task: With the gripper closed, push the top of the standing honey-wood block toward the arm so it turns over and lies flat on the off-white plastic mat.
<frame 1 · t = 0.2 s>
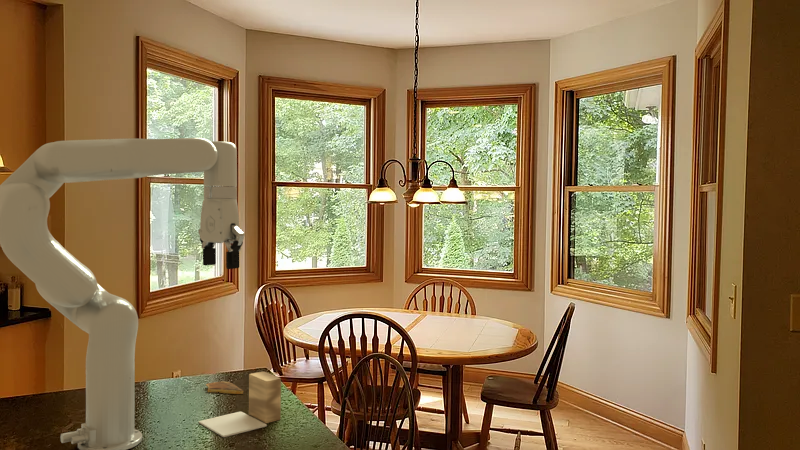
hand: (220, 266, 155), 36 cm above the counter, tool pointing down, fingers open, 9 cm apart
wood block: (264, 416, 158), on the counter
plastic mat: (232, 424, 153), on the counter
shard: (227, 391, 180), on the counter
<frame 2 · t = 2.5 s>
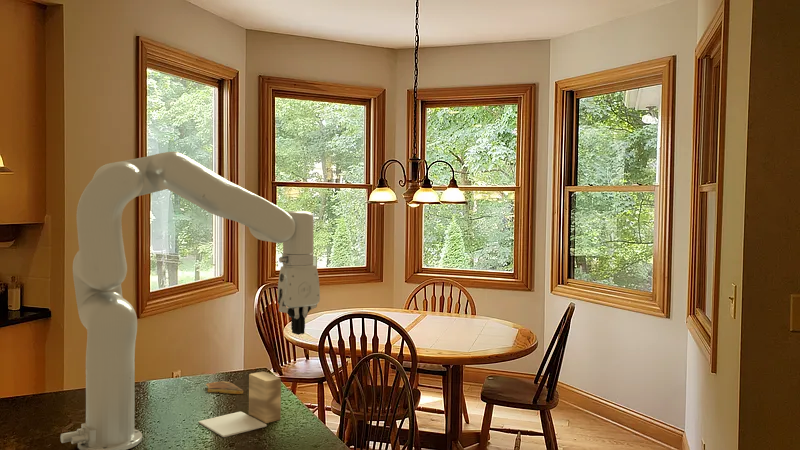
hand: (298, 333, 164), 19 cm above the counter, tool pointing down, fingers closed
nothing on the counter moved.
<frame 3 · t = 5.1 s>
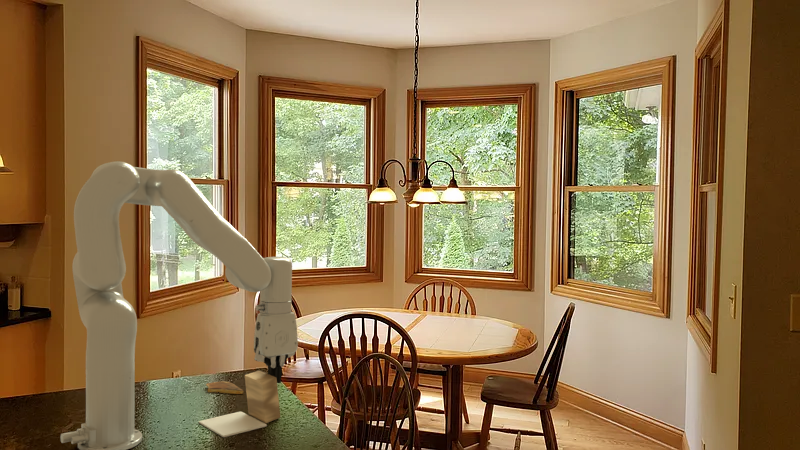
hand: (274, 382, 160), 8 cm above the counter, tool pointing down, fingers closed
wood block: (264, 415, 158), on the counter, tilted 7°
everything else where it was.
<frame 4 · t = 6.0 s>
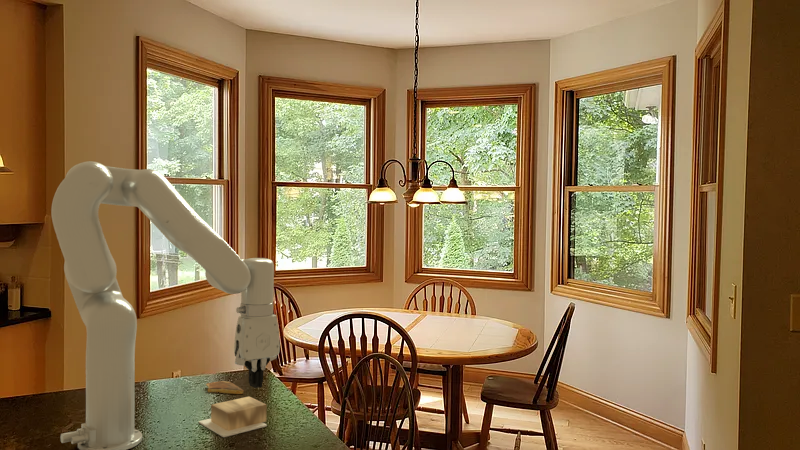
hand: (255, 386, 156), 8 cm above the counter, tool pointing down, fingers closed
wood block: (257, 408, 157), point 2 cm above the counter, tilted 90°, touching plastic mat
everything else where it was.
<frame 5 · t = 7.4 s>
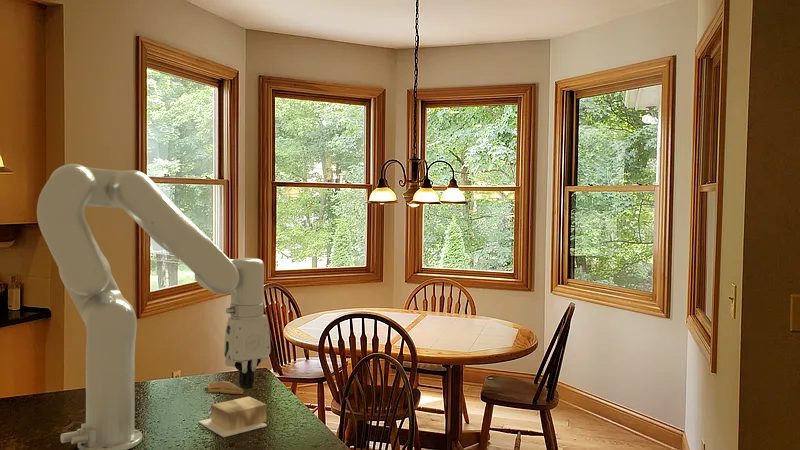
hand: (246, 387, 155), 8 cm above the counter, tool pointing down, fingers closed
nothing on the counter moved.
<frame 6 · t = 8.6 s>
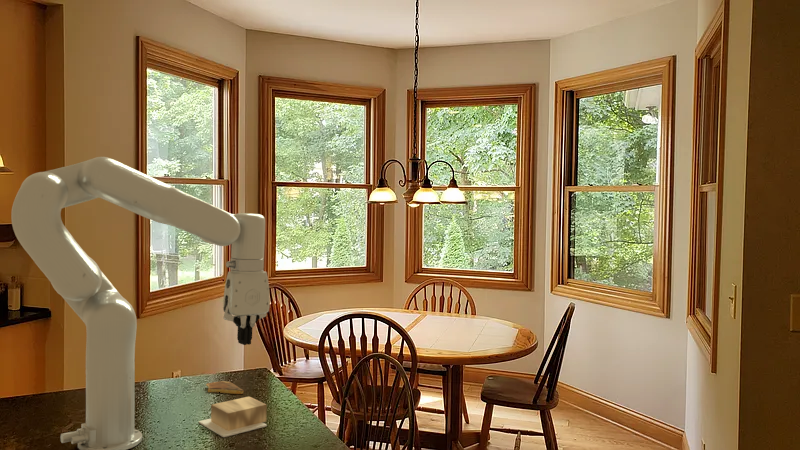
hand: (244, 343, 154), 19 cm above the counter, tool pointing down, fingers closed
nothing on the counter moved.
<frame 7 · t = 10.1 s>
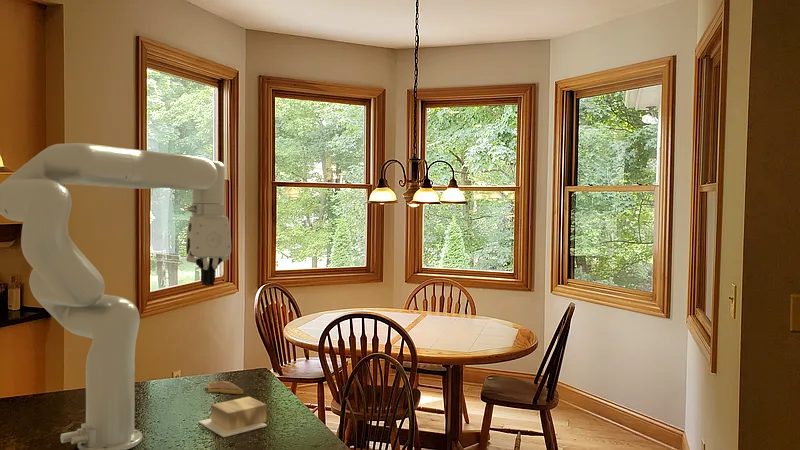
hand: (207, 284, 162), 31 cm above the counter, tool pointing down, fingers closed
nothing on the counter moved.
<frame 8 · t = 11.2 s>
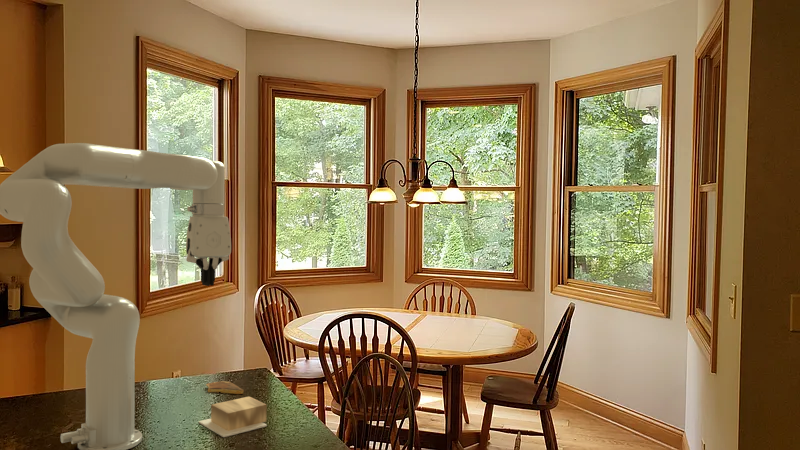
hand: (207, 284, 162), 31 cm above the counter, tool pointing down, fingers closed
nothing on the counter moved.
at the end: wood block tilted 90°; wood block touching plastic mat; the gripper is holding nothing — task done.
